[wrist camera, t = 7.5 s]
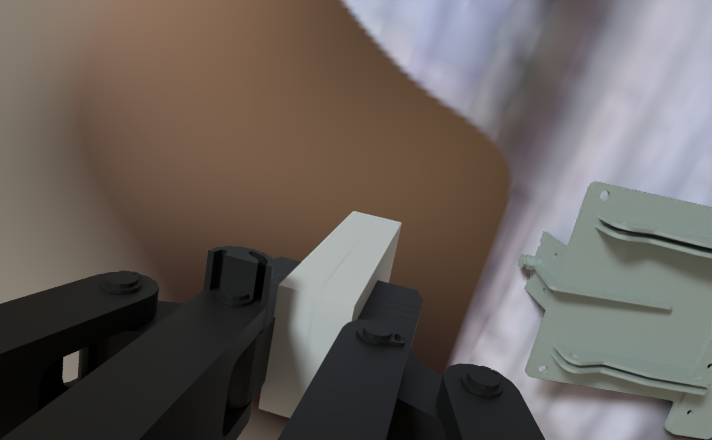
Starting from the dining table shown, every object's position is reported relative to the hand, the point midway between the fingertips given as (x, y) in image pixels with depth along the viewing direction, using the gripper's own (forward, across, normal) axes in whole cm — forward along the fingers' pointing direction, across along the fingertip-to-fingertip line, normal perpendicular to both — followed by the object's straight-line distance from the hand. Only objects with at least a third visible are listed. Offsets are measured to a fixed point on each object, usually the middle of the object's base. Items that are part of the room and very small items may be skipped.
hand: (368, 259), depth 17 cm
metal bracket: (+17, +14, -4) cm, 22 cm away
